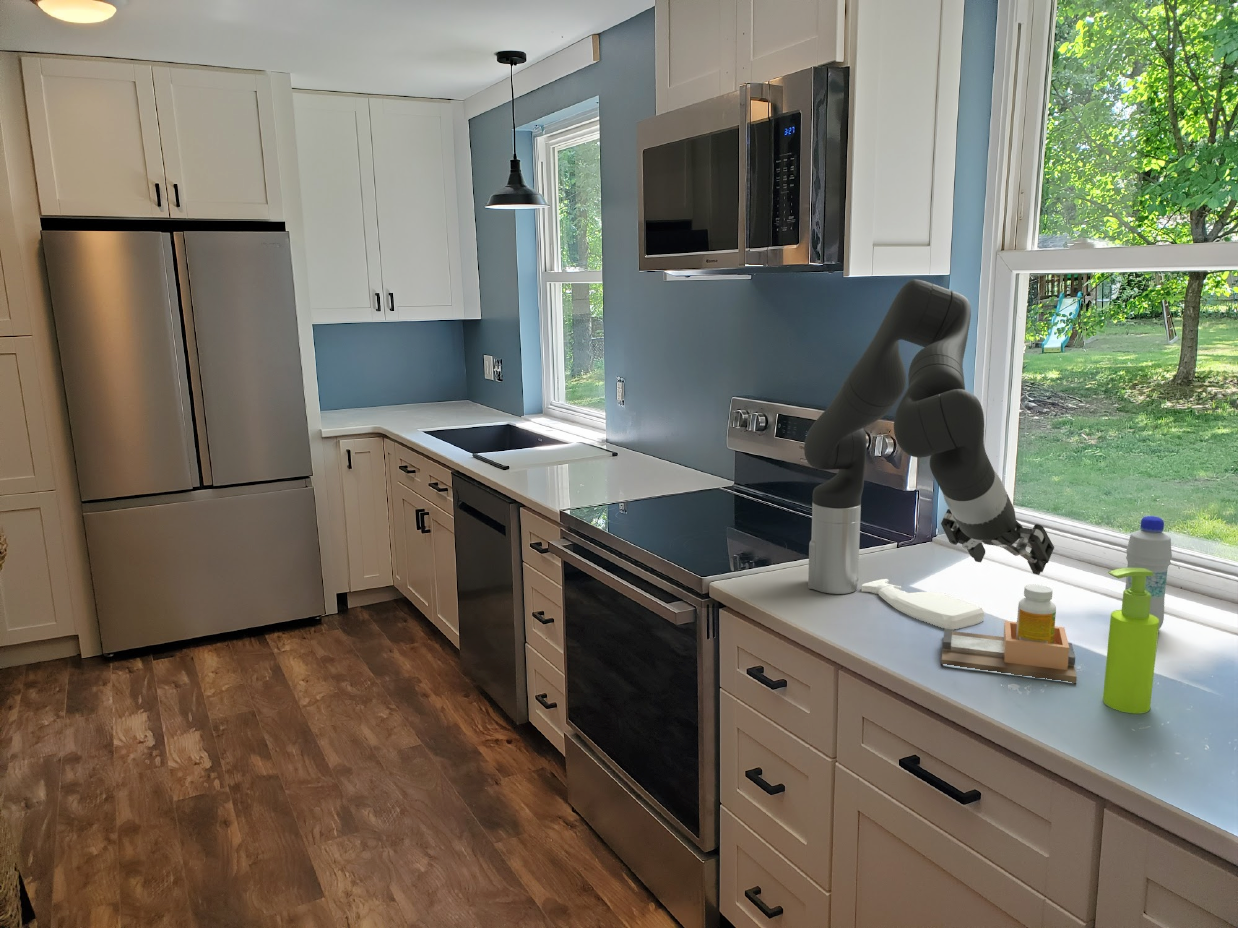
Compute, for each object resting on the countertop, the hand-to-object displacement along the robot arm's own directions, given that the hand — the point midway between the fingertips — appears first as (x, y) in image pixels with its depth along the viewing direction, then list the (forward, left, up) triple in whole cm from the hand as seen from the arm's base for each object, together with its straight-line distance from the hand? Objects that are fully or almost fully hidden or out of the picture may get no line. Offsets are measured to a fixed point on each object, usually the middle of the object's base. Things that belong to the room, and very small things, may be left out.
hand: (1009, 562), depth 131 cm
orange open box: (+5, +10, -18) cm, 21 cm away
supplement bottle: (+5, +10, -17) cm, 20 cm away
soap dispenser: (+16, -1, -19) cm, 25 cm away
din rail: (+1, +10, -18) cm, 21 cm away
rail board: (+1, +10, -19) cm, 22 cm away
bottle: (+23, +32, -19) cm, 44 cm away
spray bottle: (-14, +31, -20) cm, 39 cm away
